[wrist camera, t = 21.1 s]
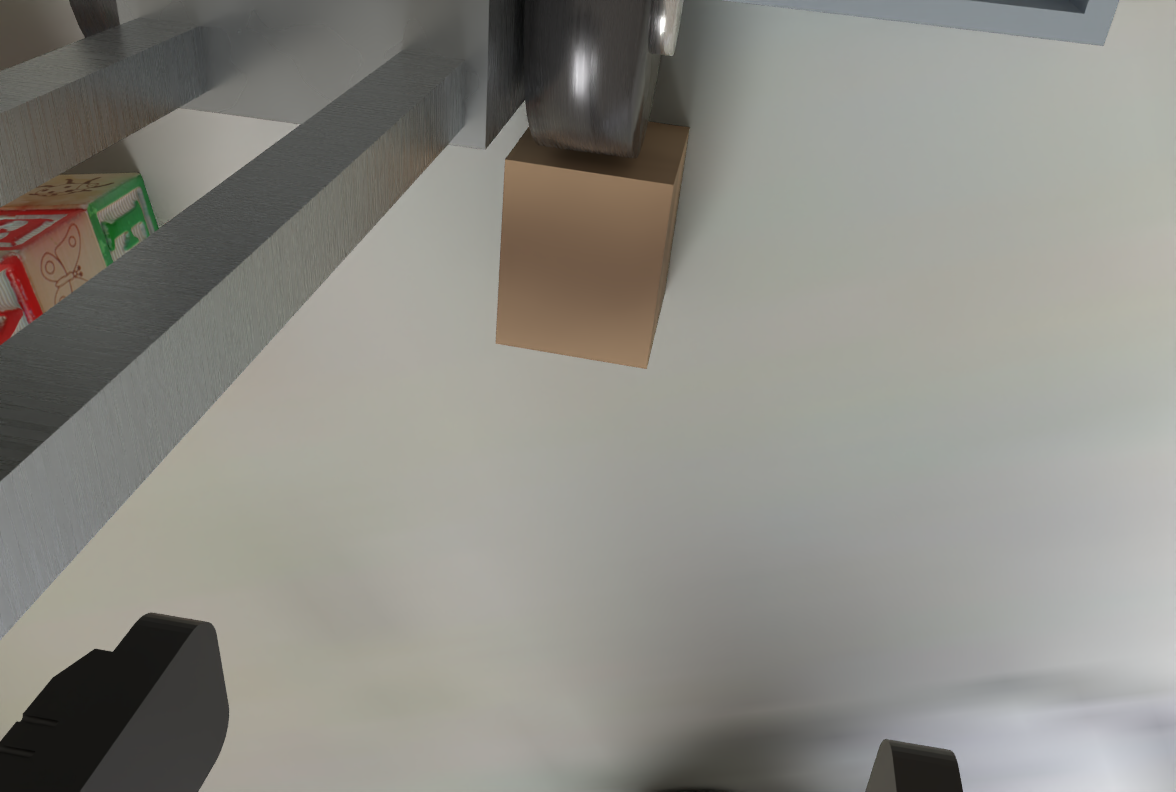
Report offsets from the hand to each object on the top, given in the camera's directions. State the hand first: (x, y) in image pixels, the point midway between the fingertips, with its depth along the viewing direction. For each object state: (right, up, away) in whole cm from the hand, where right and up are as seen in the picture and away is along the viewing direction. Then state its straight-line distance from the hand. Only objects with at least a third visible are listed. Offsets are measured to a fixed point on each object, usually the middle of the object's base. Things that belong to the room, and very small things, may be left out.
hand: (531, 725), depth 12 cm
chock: (+1, +9, +17) cm, 19 cm away
